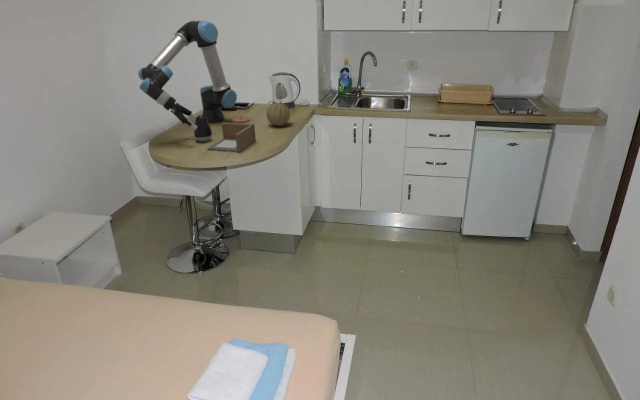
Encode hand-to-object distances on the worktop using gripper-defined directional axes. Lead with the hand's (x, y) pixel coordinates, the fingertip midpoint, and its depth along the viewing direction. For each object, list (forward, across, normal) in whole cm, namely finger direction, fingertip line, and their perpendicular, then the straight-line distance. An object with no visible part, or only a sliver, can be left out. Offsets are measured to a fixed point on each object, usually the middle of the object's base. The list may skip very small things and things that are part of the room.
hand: (197, 125), depth 258 cm
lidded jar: (+24, -15, +10) cm, 30 cm away
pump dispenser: (+8, -1, -5) cm, 10 cm away
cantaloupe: (+40, -22, +27) cm, 53 cm away
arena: (+20, +12, +7) cm, 25 cm away
